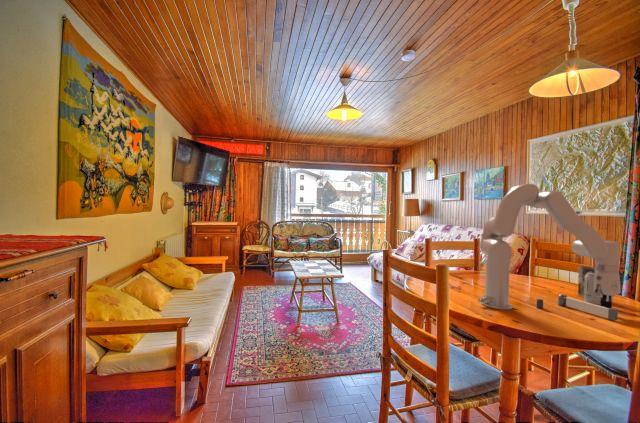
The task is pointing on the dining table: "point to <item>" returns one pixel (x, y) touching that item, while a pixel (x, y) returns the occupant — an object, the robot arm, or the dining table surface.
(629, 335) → the dining table surface
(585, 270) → the coffee box
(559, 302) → the gate post
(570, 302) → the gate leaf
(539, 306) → the stop post
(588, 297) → the energy drink can
